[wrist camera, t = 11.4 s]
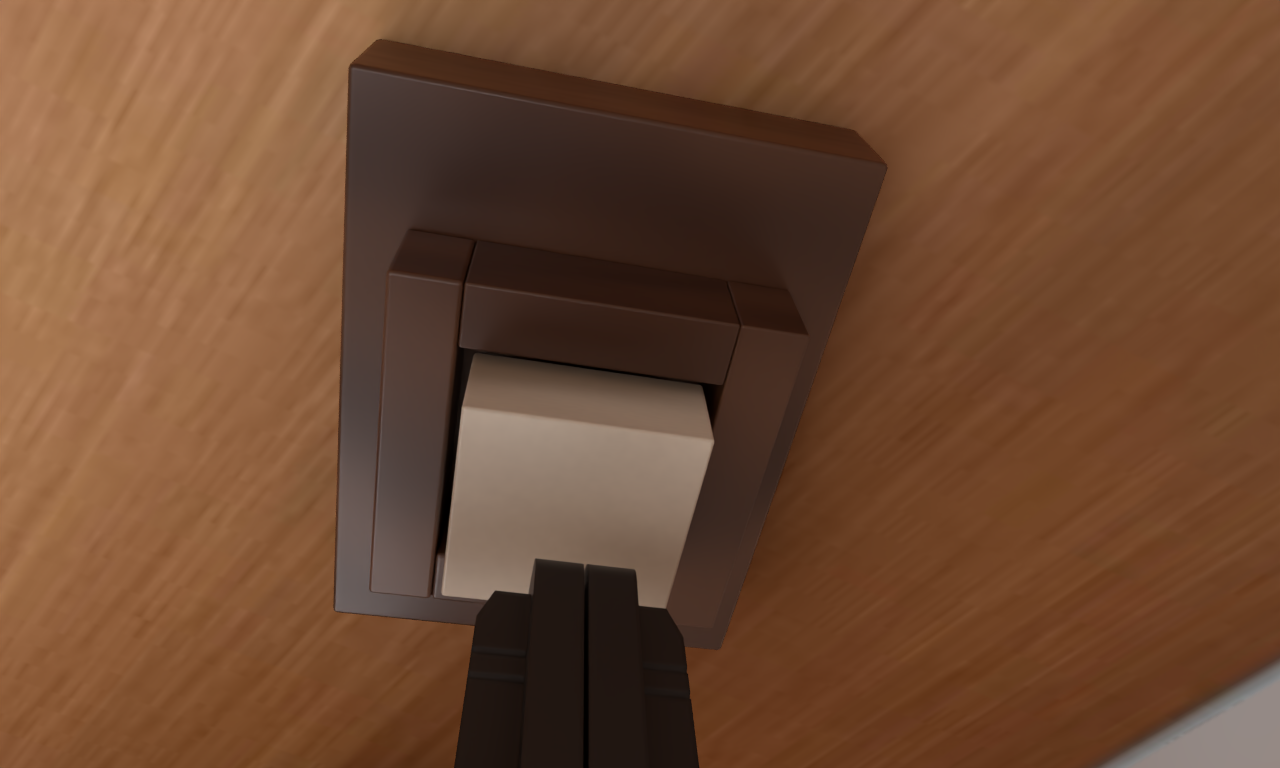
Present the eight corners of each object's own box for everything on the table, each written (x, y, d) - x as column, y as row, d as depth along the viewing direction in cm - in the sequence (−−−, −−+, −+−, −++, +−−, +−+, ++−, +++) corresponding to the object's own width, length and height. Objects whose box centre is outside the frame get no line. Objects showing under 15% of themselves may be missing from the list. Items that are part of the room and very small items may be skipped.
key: (474, 350, 15) (461, 406, 13) (703, 384, 15) (715, 441, 14) (452, 530, 17) (439, 596, 15) (656, 554, 17) (663, 619, 16)
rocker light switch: (376, 37, 16) (317, 89, 12) (856, 129, 17) (925, 200, 13) (354, 546, 22) (310, 677, 18) (710, 586, 23) (731, 715, 19)
